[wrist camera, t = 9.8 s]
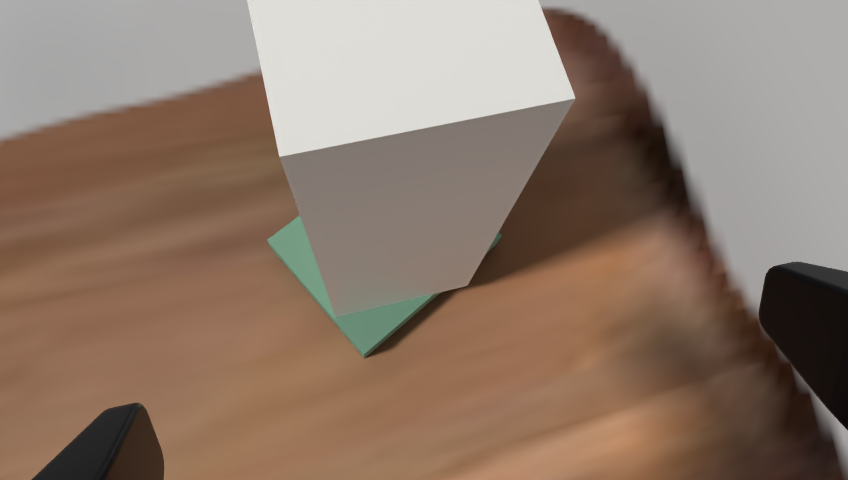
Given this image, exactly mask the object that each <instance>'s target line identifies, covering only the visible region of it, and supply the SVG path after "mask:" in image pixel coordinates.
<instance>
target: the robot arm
mask: <svg viewBox="0 0 848 480" xmlns="http://www.w3.org/2000/svg"><path fill="white" fill-rule="evenodd" d="M759 320H760V323H761V326H762V328H763V329H764V331H765V332H766V333H767V334H768V336H769V337H770V338H771V339H772V341H773V342H774V343H775V344H776V346H777V347H778V348H779V349H780V351H781V352H782V353H783V354H784V356H785V357H786V358H787V359H788V361H789V362H790V363H791V364H792V366H793V367H794V368H795V369H796V371H797V372H798V373H799V374H800V376H801V377H802V378H803V379H804V380H805V382H806V383H807V384H808V385H809V387H810V388H811V389H812V390H813V392H814V393H815V394H816V395H817V397H818V398H819V399H820V400H821V401H822V403H823V404H824V405H825V406H826V407H827V409H828V410H829V411H830V412H831V413H832V414H833V415H834V416H835V417H836V418H837V419H838V421H839V422H840V423H841V424H842V425H843V426H844V427H845V428H846V429H847V430H848V272H846V271H842V270H836V269H832V268H827V267H822V266H817V265H812V264H808V263H803V262H791V263H787V264H782V265H778V266H774V267H772V268H770V269H769V270H768V272H767V273H766V276H765V281H764V286H763V292H762V297H761V302H760V308H759ZM32 480H164V459H163V454H162V450H161V447H160V444H159V442H158V439H157V436H156V434H155V431H154V428H153V426H152V423H151V420H150V418H149V415H148V413H147V410H146V409H145V407H144V406H143V405H142V404H140V403H132V404H127V405H123V406H118V407H113V408H109V409H107V410H105V411H104V412H103V413H101V414H100V415H99V416H98V417H97V418H96V419H95V420H94V421H93V422H92V423H91V424H90V425H89V426H88V427H86V428H85V429H84V430H83V431H82V432H81V433H80V434H79V435H78V436H77V437H76V438H75V439H74V440H73V441H72V442H71V443H70V444H69V445H68V446H66V447H65V448H64V449H63V450H62V451H61V452H60V453H59V454H58V455H57V456H56V457H55V458H54V459H53V460H52V461H51V462H50V463H49V464H47V465H46V466H45V467H44V468H43V469H42V470H41V471H40V472H39V473H38V474H37V475H36V476H35V477H34V478H33V479H32Z"/></svg>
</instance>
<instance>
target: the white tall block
mask: <svg viewBox="0 0 848 480" xmlns="http://www.w3.org/2000/svg"><path fill="white" fill-rule="evenodd" d="M247 2H248V7H249V11H250V16H251V21H252V26H253V31H254V35H255V41H256V45H257V50H258V55H259V60H260V65H261V70H262V75H263V79H264V84H265V89H266V94H267V99H268V104H269V109H270V113H271V118H272V123H273V128H274V133H275V138H276V142H277V147H278V152H279V157H280V160H281V163H282V165H283V168H284V171H285V174H286V177H287V180H288V183H289V185H290V188H291V191H292V194H293V197H294V200H295V202H296V205H297V208H298V211H299V214H300V217H301V219H302V222H303V225H304V228H305V231H306V234H307V236H308V239H309V242H310V245H311V248H312V251H313V254H314V256H315V259H316V262H317V265H318V268H319V271H320V273H321V276H322V279H323V282H324V285H325V288H326V290H327V293H328V296H329V299H330V302H331V305H332V307H333V310H334V313H335V316H336V317H340V316H344V315H348V314H352V313H356V312H361V311H365V310H369V309H373V308H377V307H381V306H386V305H390V304H394V303H398V302H402V301H406V300H411V299H415V298H419V297H423V296H427V295H431V294H436V293H440V292H444V291H448V290H452V289H456V288H461V287H465V286H468V284H469V282H470V280H471V279H472V277H473V275H474V273H475V272H476V270H477V268H478V266H479V265H480V263H481V261H482V260H483V258H484V256H485V254H486V253H487V251H488V249H489V247H490V246H491V244H492V242H493V240H494V239H495V237H496V235H497V234H498V232H499V230H500V228H501V227H502V225H503V223H504V221H505V220H506V218H507V216H508V215H509V213H510V211H511V209H512V208H513V206H514V204H515V202H516V201H517V199H518V197H519V195H520V194H521V192H522V190H523V189H524V187H525V185H526V183H527V182H528V180H529V178H530V176H531V175H532V173H533V171H534V169H535V168H536V166H537V164H538V163H539V161H540V159H541V157H542V156H543V154H544V152H545V150H546V149H547V147H548V145H549V143H550V142H551V140H552V138H553V137H554V135H555V133H556V131H557V130H558V128H559V126H560V124H561V123H562V121H563V119H564V117H565V116H566V114H567V112H568V111H569V109H570V107H571V105H572V104H573V102H574V100H575V96H574V93H573V90H572V88H571V85H570V83H569V80H568V77H567V75H566V72H565V69H564V67H563V64H562V62H561V59H560V56H559V54H558V51H557V48H556V46H555V43H554V41H553V38H552V35H551V33H550V30H549V27H548V25H547V22H546V20H545V17H544V14H543V12H542V9H541V6H540V4H539V1H538V0H247Z"/></svg>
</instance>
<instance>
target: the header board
mask: <svg viewBox="0 0 848 480" xmlns="http://www.w3.org/2000/svg"><path fill="white" fill-rule="evenodd" d="M501 237H502V235H501V234H500V233H499V232H498V234H497V235H496V237H495V239H494V240H493V242H492V244H491V246H490V247H489V249H488V251H490V250H491V249H492V248H493V247H494V246H495V245H497V243H498V242H499V240H500V238H501ZM267 241H268V243H269V245H270V247H271V248H272V250H273V251H274V252H275V253H276V255H277V256H278V257H279V258H280V259H281V260H282V262H283V263H284V264H285V265H286V266H287V268H288V269H289V270H290V271H291V272H292V273H293V275H294V276H295V277H296V278H297V279H298V281H299V282H300V283H301V284H302V285H303V286H304V288H305V289H306V290H307V291H308V292H309V294H310V295H311V296H312V297H313V298H314V299H315V301H316V302H317V303H318V304H319V305H320V307H321V308H322V309H323V310H324V311H325V312H326V314H327V315H328V316H329V317H330V318H331V320H332V321H333V322H334V323H335V324H336V325H337V327H338V328H339V329H340V330H341V331H342V333H343V334H344V335H345V336H346V337H347V339H348V340H349V341H350V342H351V343H352V344H353V346H354V347H355V348H356V349H357V350H358V352H359V353H360V354H361V355H362V356H363V357H364V359H365V358H366V357H367V356H368V355H369V354H370V353H371V352H373V351H374V350H375V349H376V348H377V347H378V346H380V345H381V344H382V343H383V342H384V341H385V340H387V339H388V338H389V337H390V336H391V335H392V334H393V333H395V332H396V331H397V330H398V329H399V328H400V327H402V326H403V325H404V324H405V323H406V322H407V321H409V320H410V319H411V318H412V317H413V316H414V315H415V314H417V313H418V312H419V311H420V310H421V309H422V308H424V307H425V306H426V305H427V304H428V303H429V302H431V301H432V300H433V299H434V298H435V297H436V296H437V295H439V294H440V293H441V292H440V293H436V294H431V295H427V296H423V297H419V298H415V299H411V300H406V301H402V302H398V303H394V304H390V305H386V306H381V307H377V308H373V309H369V310H365V311H361V312H356V313H352V314H348V315H344V316H340V317H336V316H335V313H334V310H333V307H332V305H331V302H330V299H329V296H328V293H327V290H326V288H325V285H324V282H323V279H322V276H321V273H320V271H319V268H318V265H317V262H316V259H315V256H314V254H313V251H312V248H311V245H310V242H309V239H308V236H307V234H306V231H305V228H304V225H303V222H302V219H301V217H300V216H298V217H297V218H296V219H294V220H293V221H292V222H290V223H289V224H288V225H286V226H285V227H284V228H282V229H281V230H280V231H278V232H277V233H276V234H275V235H273V236H272V237H271V238H269V239H268V240H267ZM488 251H487V252H488Z"/></svg>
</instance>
